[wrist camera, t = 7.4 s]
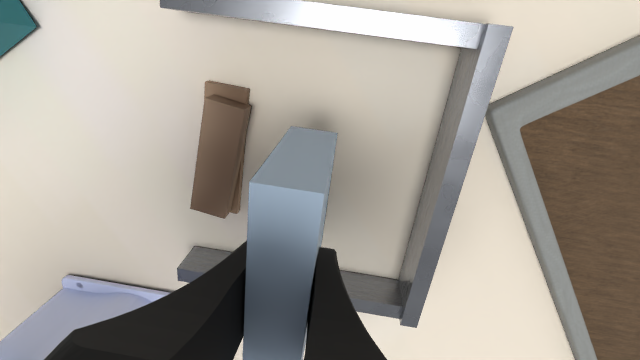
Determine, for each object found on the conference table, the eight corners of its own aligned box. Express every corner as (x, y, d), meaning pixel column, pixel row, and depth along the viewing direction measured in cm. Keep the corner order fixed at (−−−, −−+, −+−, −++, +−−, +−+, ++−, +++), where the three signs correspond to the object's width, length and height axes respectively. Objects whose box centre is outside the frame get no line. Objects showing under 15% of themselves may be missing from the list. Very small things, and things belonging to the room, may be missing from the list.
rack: (195, 257, 24) (174, 285, 21) (185, -10, 17) (152, -20, 14) (409, 293, 23) (416, 327, 21) (487, 28, 16) (513, 26, 14)
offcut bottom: (208, 198, 23) (201, 206, 22) (213, 79, 20) (204, 81, 18) (242, 205, 23) (236, 213, 22) (253, 87, 20) (246, 89, 18)
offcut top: (198, 199, 22) (190, 208, 20) (213, 94, 19) (204, 97, 18) (231, 209, 22) (224, 218, 20) (251, 105, 19) (244, 110, 18)
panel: (277, 288, 18) (241, 400, 12) (291, 126, 14) (249, 181, 9) (313, 295, 18) (294, 410, 12) (337, 132, 14) (324, 193, 9)
